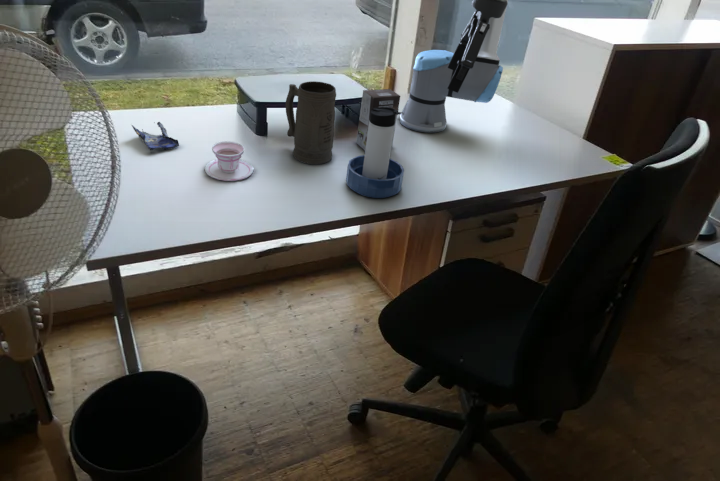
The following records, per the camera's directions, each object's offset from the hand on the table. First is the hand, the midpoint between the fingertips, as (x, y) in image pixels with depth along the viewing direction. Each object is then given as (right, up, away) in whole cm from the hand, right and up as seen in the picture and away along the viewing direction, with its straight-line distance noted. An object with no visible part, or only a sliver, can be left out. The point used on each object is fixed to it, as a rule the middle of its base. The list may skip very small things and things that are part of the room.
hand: (452, 79), depth 139 cm
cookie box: (-19, -12, +27) cm, 35 cm away
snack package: (-77, -14, +12) cm, 79 cm away
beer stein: (-38, -16, +17) cm, 45 cm away
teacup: (-56, -22, +4) cm, 60 cm away
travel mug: (-19, -25, +6) cm, 32 cm away
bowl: (-19, -26, +6) cm, 33 cm away
